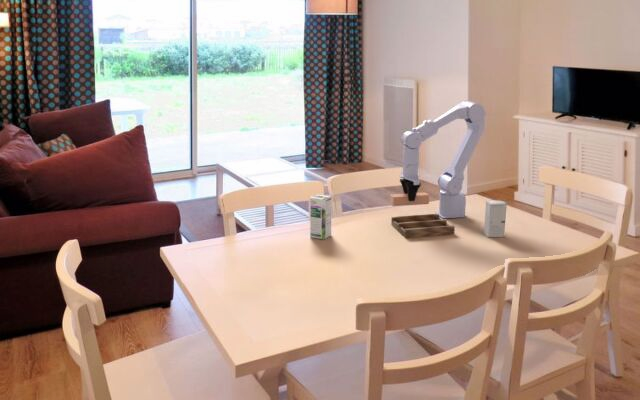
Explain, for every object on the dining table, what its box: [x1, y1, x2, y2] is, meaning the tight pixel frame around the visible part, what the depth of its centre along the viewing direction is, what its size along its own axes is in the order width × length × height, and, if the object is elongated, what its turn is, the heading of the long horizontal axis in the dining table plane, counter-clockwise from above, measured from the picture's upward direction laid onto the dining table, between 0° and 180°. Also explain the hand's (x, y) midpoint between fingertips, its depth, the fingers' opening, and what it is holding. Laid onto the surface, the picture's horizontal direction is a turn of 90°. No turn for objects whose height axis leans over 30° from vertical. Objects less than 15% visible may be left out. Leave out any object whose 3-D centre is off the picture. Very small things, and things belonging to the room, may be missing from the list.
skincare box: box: [483, 200, 508, 238], centre depth 227 cm, size 6×4×12 cm
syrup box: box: [309, 193, 332, 241], centre depth 227 cm, size 6×6×14 cm
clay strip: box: [389, 192, 430, 207], centre depth 246 cm, size 14×4×4 cm, turn 102°
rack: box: [391, 213, 455, 239], centre depth 235 cm, size 18×16×3 cm
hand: (409, 199), depth 246 cm, fingers closed on clay strip, 4 cm apart
